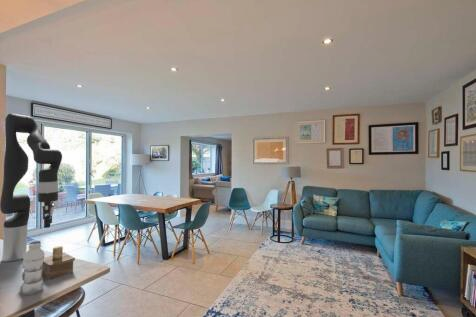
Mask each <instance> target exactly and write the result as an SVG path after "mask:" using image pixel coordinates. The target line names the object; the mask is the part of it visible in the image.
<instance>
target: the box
mask: <svg viewBox="0 0 476 317" xmlns="http://www.w3.org/2000/svg"><path fill="white" fill-rule="evenodd" d="M73 272H74V261H71V262H68V263H65V264H62V265H58V266H55V267H52V268H49V267H47V266H45V265H44V264H43V267H42V276H44V277H45V278H47V279H48V280H52V279H55V278H56V279H57V278H59V277H61V276H64V275H68V274H70V273H73Z"/></svg>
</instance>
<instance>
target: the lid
mask: <svg viewBox="0 0 476 317" xmlns="http://www.w3.org/2000/svg"><path fill="white" fill-rule="evenodd" d="M63 247H64V246H62V245H60V246H54V247H53V248H52V255H49V256H46V257H45V256H44V260H43V264H44V265H45V266H47V267H49V268H52V267H55V266H58V265H62V264H65V263H68V262H71V261H73V262H74V261H76V257H74V256H72V255H70V254H68V253H66V252H64V251H63Z"/></svg>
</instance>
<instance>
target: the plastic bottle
mask: <svg viewBox="0 0 476 317" xmlns="http://www.w3.org/2000/svg"><path fill="white" fill-rule="evenodd" d="M41 244H42V242H41V241H31V242H29V243H28V246H27V249H28V250H26V254H25V255H24V258H22V260H23V261H24V267H25V269H24V270H25V277H24V281H23V283H22V285H21V286H22V287H21V292H22V294H23V295H24V296H25V295H26V296H31V295H36V294H38V293H39V292H42V290H43V289H44V278H43V275H42V267H43V260H44V258H45V252H44V250H43V249H42V248H41V246H42V245H41Z"/></svg>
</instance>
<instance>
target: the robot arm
mask: <svg viewBox="0 0 476 317" xmlns="http://www.w3.org/2000/svg"><path fill="white" fill-rule="evenodd" d="M4 131H5V132H4V133H5V147H4V148H5V149H4V150H5V151H4V158H3V159H4V160H3V182H2V190H1V195H0V211H1V213H2V214H3V215H9V214H10V215H11V214H15V215H14V216H12V217H10V218H8V219H6V220H5V221H4V223H3V231H2V232H3V233H2V234H3V236H2V257H1V261H2V262H6V263H9V262H16V261H19V260H20V261H21V260H23V258H24V255H25V254H26V252H27V251H28V250H27V249H28V225H29V223H28V222H29V217H30V209H31V198H30V196H29V195H28V194H14V192H15V189H16V186H17V185H18V183H19V182H20V181H21V180H22V179H23V177H24V176H25V175H26V174H27V172H28V171H29V156H28V154H27V153H26V151H25V150H24V149H23V147H22V146H21V145H20V143H19V141H18V137H17V133H22V134H28V136H27V138H26V143H27V144H26V145H28V147H29V148H30V150H31V151H32V154H33V160H34V162H35V163H36V164H38V165H49V167H47V168H43V169H40V170H39V171H38V185H37V202H38V203H44V204H43V205H42V207H41V209H42V220H43V227H44V229H45V228H47V229H48V228H50V227H51V224H52V223H53V214H54V208H55V207H54V206H55V205H54V202H57V201H58V200H59V183H58V178H59V176H58V175H59V174H58V173H59V171H60V169H59V168H60V166H61V163H62V160H63V153H62V152H61V151H60V150H59V149H51V145H50V144H49V143H48V141H47V140H46V139H45V138H44V136H43V134H42V133H41V131H40V128H39V126H38V124H37V122H36V120H35V119H34V118H33V117H32V116H29V115H24V114H17V113H8V114H7V115H6V117H5V120H4Z"/></svg>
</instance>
